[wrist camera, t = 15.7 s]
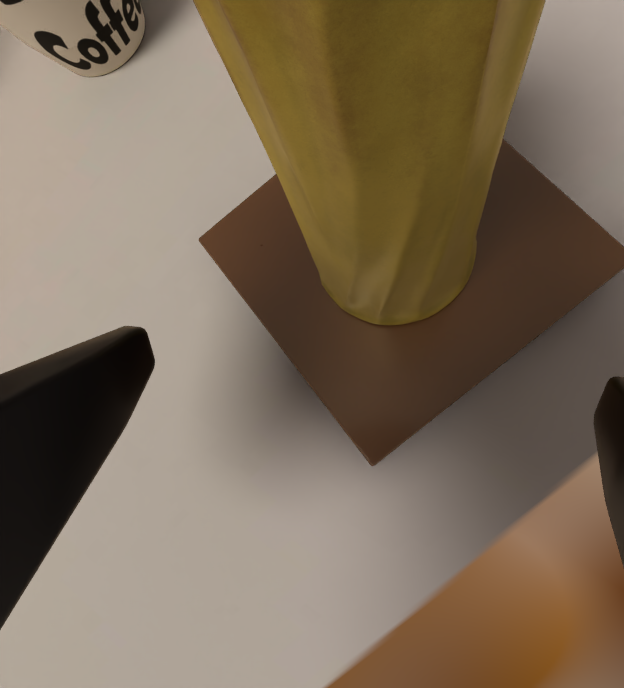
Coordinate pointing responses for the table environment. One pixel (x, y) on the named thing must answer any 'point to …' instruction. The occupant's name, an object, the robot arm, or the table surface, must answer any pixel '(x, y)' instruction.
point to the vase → (380, 131)
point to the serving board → (427, 334)
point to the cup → (78, 31)
